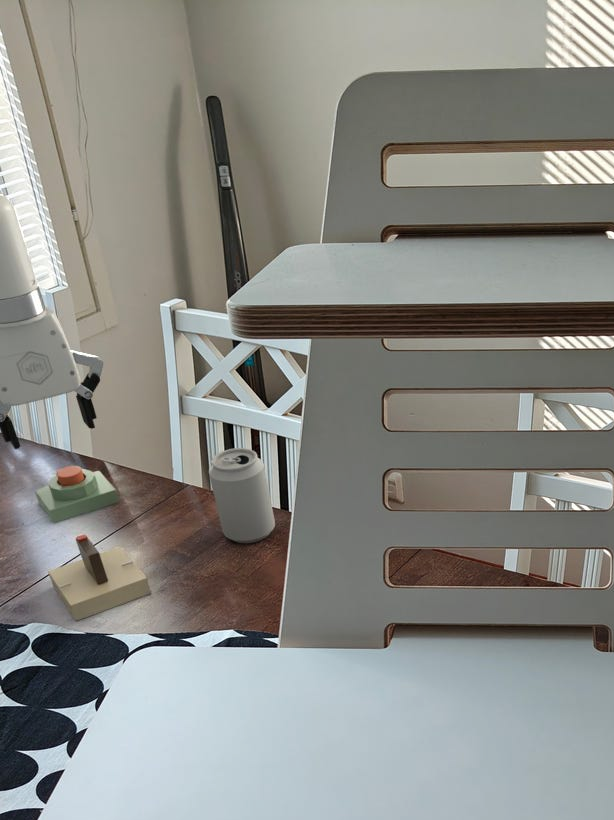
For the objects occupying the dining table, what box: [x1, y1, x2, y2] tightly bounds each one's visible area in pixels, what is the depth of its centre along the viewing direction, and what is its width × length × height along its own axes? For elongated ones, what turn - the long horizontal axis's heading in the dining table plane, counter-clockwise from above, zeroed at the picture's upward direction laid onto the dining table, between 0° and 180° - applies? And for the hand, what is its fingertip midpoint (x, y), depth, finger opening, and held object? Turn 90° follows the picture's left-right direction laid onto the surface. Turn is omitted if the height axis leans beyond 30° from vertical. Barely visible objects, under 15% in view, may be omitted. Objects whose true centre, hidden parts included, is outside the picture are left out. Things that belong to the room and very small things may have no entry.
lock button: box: [55, 465, 84, 486], centre depth 147 cm, size 4×4×2 cm
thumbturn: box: [75, 533, 108, 585], centre depth 127 cm, size 6×1×5 cm, turn 35°
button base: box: [34, 468, 120, 524], centre depth 149 cm, size 10×8×4 cm
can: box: [208, 447, 276, 544], centre depth 137 cm, size 8×8×12 cm
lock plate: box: [47, 545, 152, 622], centre depth 130 cm, size 10×10×3 cm
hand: (53, 434), depth 129 cm, fingers open, 9 cm apart
